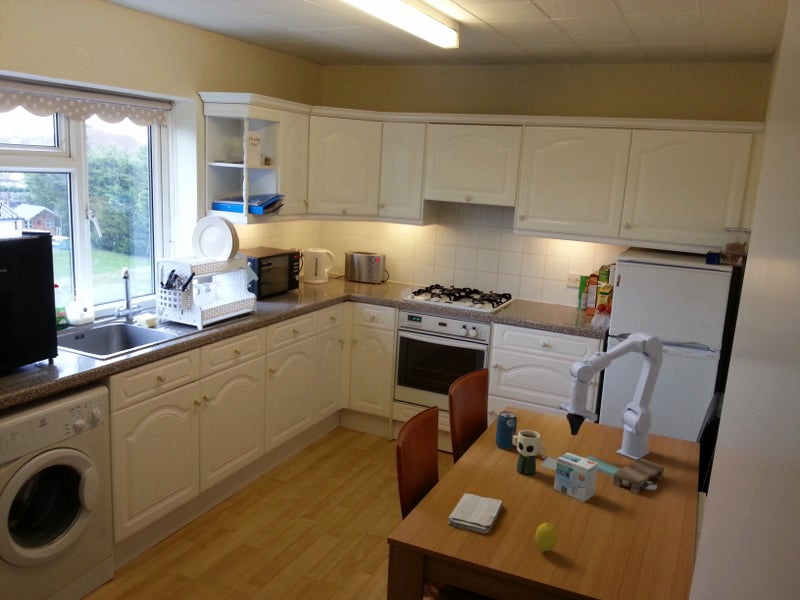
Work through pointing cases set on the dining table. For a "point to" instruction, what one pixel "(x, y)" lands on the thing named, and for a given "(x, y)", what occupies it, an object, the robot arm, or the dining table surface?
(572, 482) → the light bulb box
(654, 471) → the shelf
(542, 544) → the lemon
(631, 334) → the robot arm
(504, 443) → the soda can
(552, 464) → the kitchen cleaver
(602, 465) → the slat
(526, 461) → the character mug
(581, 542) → the dining table surface
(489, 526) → the washcloth
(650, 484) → the steel disc
